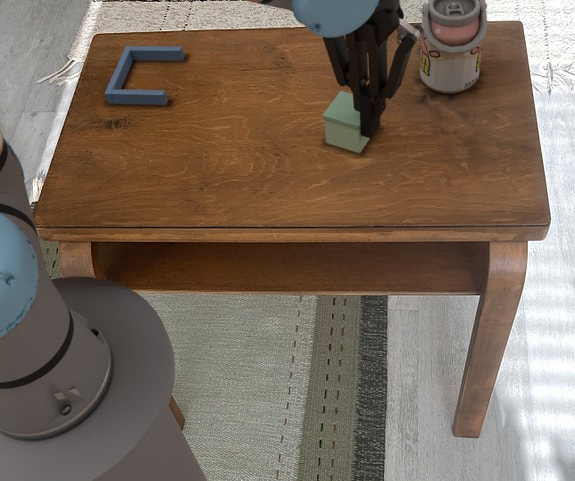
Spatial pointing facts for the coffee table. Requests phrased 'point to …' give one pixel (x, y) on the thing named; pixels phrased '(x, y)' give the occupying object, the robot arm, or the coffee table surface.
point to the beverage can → (452, 43)
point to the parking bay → (122, 69)
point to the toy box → (344, 124)
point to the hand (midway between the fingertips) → (370, 130)
